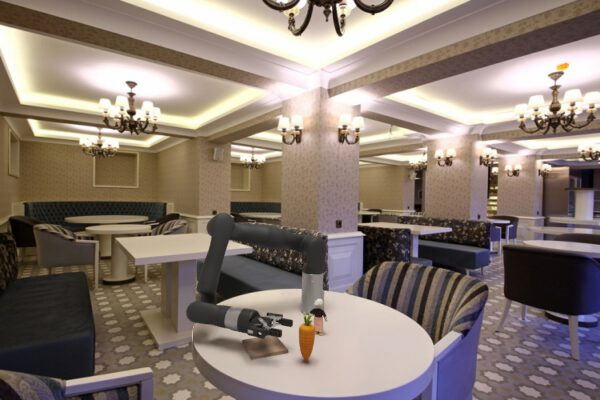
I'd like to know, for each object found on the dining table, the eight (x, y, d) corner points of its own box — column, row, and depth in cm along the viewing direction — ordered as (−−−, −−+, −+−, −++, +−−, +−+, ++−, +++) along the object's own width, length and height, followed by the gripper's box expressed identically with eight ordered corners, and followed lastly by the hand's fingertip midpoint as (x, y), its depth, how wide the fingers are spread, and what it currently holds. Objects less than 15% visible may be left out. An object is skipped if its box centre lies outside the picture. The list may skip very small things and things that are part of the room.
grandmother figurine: (329, 332, 116) (330, 298, 116) (326, 336, 112) (327, 301, 112) (309, 329, 118) (310, 296, 118) (306, 333, 115) (307, 298, 115)
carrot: (297, 357, 97) (298, 309, 97) (313, 357, 97) (314, 309, 97) (298, 366, 92) (300, 315, 92) (315, 366, 92) (316, 315, 92)
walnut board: (275, 337, 110) (275, 334, 110) (288, 352, 100) (288, 349, 100) (242, 342, 105) (242, 339, 105) (251, 359, 95) (251, 356, 95)
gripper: (230, 315, 96) (278, 324, 90) (253, 302, 109) (296, 309, 103) (229, 340, 96) (277, 350, 90) (252, 323, 109) (295, 331, 103)
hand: (287, 328), depth 97 cm, fingers open, 8 cm apart
